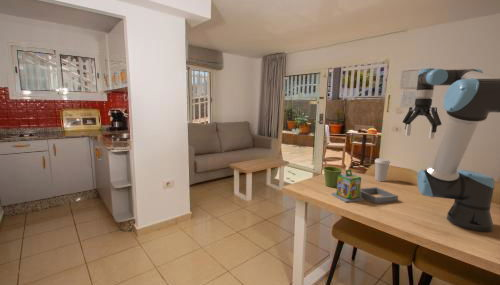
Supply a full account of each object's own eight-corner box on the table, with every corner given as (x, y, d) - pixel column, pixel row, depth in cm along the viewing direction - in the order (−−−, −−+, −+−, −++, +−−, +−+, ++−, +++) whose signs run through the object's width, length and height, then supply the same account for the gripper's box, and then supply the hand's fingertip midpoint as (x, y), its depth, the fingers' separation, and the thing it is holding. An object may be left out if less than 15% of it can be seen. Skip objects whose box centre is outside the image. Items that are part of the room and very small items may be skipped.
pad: (364, 200, 131) (364, 198, 131) (345, 202, 127) (345, 200, 127) (348, 192, 142) (349, 191, 142) (331, 194, 139) (331, 192, 138)
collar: (397, 201, 131) (398, 195, 130) (375, 203, 126) (376, 198, 126) (375, 191, 145) (376, 187, 145) (355, 193, 141) (355, 189, 140)
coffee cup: (390, 182, 164) (392, 161, 162) (375, 181, 165) (377, 160, 163) (384, 178, 173) (387, 158, 171) (370, 177, 175) (372, 157, 172)
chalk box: (349, 200, 128) (352, 173, 126) (335, 194, 136) (337, 169, 134) (360, 197, 133) (362, 171, 131) (346, 192, 141) (348, 167, 138)
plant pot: (318, 185, 155) (319, 168, 154) (328, 181, 163) (329, 165, 161) (335, 190, 147) (336, 172, 145) (344, 186, 154) (346, 169, 153)
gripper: (453, 97, 120) (447, 139, 123) (407, 99, 143) (403, 134, 146) (443, 97, 118) (437, 140, 121) (398, 98, 141) (394, 134, 144)
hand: (418, 137), depth 134 cm, fingers open, 13 cm apart
